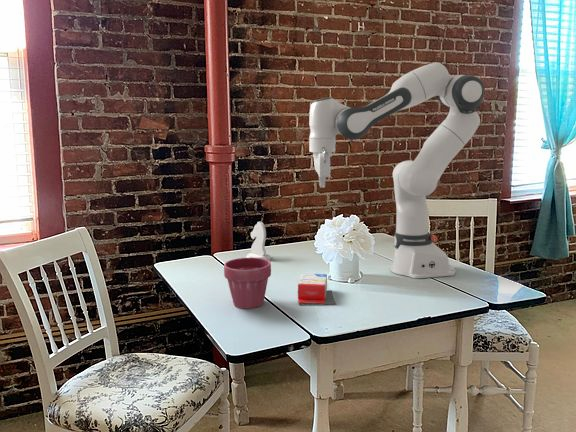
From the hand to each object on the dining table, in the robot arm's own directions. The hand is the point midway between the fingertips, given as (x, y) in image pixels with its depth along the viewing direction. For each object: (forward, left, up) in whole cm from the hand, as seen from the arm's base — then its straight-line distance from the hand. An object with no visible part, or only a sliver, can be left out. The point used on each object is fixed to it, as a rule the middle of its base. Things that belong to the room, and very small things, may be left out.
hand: (322, 187), depth 196 cm
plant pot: (+25, +28, -31) cm, 49 cm away
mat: (+4, +25, -31) cm, 40 cm away
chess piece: (+23, -21, -31) cm, 44 cm away
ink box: (+4, +16, -28) cm, 33 cm away
